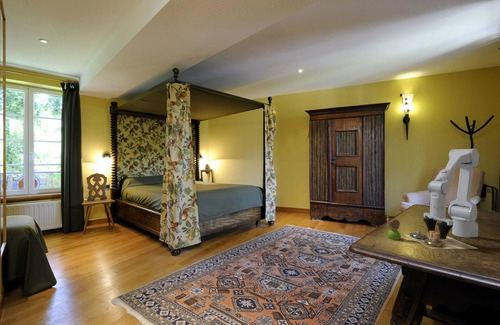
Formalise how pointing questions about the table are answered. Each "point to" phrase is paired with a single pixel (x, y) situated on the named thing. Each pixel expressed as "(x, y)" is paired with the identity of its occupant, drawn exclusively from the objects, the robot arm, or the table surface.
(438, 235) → the idler gear
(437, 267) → the table surface
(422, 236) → the gear
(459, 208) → the robot arm
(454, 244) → the gear board
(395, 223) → the snail figurine
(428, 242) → the gear
